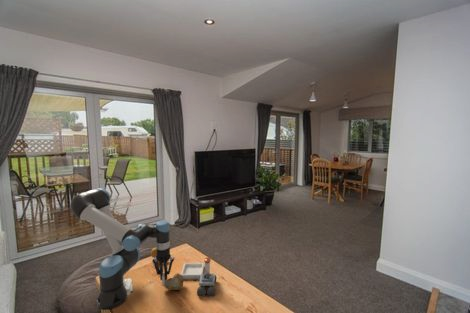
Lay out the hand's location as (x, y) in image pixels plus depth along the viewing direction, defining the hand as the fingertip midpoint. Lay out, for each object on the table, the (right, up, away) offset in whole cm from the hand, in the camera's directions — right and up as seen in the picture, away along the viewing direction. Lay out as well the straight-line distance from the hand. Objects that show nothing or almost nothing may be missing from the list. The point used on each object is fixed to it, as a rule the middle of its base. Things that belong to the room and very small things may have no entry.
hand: (164, 284), depth 135 cm
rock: (+6, -3, +1) cm, 7 cm away
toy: (-13, 0, +29) cm, 32 cm away
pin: (+26, +3, +1) cm, 26 cm away
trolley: (+26, -3, +2) cm, 26 cm away
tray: (+14, -2, +17) cm, 22 cm away
